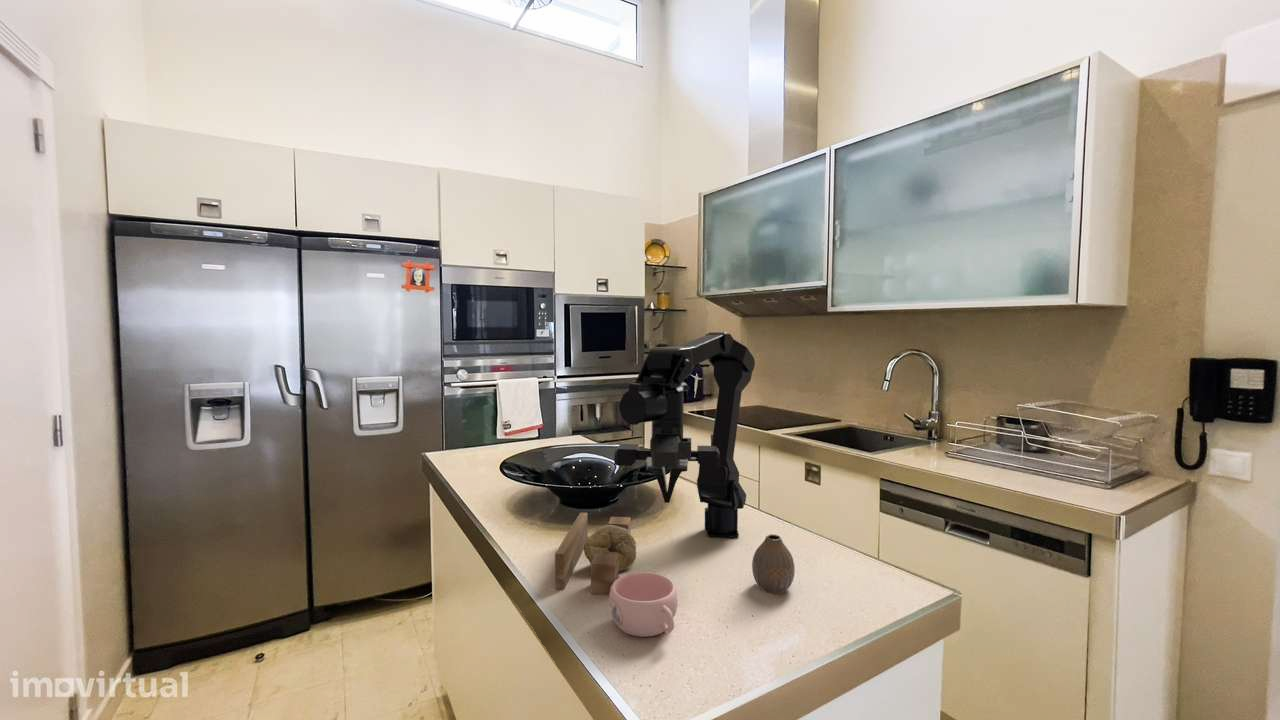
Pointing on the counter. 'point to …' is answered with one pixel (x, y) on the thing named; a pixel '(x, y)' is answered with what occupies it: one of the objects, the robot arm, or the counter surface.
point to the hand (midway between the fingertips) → (667, 502)
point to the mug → (643, 603)
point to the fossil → (612, 545)
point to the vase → (773, 565)
